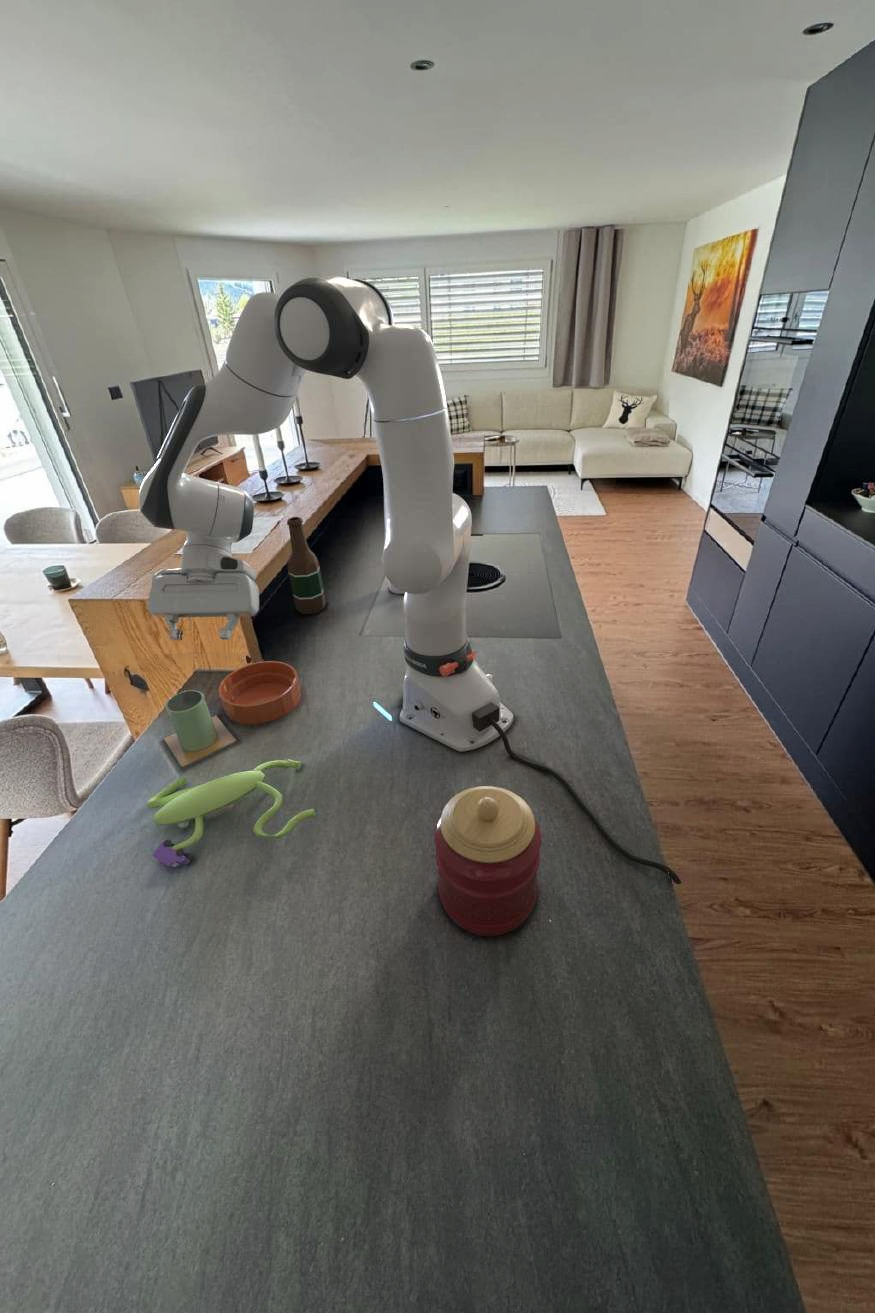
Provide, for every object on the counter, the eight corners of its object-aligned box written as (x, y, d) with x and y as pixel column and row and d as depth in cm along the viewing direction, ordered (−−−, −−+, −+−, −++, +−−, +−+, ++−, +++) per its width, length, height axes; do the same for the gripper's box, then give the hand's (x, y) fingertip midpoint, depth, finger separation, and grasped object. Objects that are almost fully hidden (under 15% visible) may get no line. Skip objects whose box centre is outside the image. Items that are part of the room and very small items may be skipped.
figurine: (318, 851, 81) (311, 826, 78) (126, 884, 78) (111, 858, 75) (319, 763, 96) (314, 739, 93) (158, 787, 93) (147, 763, 90)
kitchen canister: (476, 836, 82) (475, 747, 72) (554, 884, 75) (564, 792, 65) (418, 900, 74) (408, 809, 64) (500, 960, 67) (503, 869, 57)
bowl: (315, 703, 110) (311, 683, 108) (244, 737, 103) (237, 717, 100) (281, 672, 120) (276, 652, 118) (213, 701, 113) (206, 681, 110)
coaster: (237, 743, 102) (236, 740, 101) (182, 769, 96) (181, 767, 96) (216, 717, 108) (215, 715, 108) (164, 741, 103) (163, 738, 103)
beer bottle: (290, 612, 143) (270, 522, 130) (307, 599, 149) (289, 511, 136) (316, 617, 140) (298, 525, 127) (332, 603, 146) (317, 514, 133)
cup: (222, 740, 102) (209, 701, 97) (187, 756, 98) (172, 717, 93) (209, 723, 106) (196, 685, 101) (175, 738, 102) (160, 700, 97)
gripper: (144, 563, 103) (136, 636, 100) (251, 560, 101) (246, 634, 99) (163, 575, 109) (155, 643, 106) (264, 572, 107) (260, 642, 105)
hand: (200, 639), depth 102 cm, fingers open, 8 cm apart
